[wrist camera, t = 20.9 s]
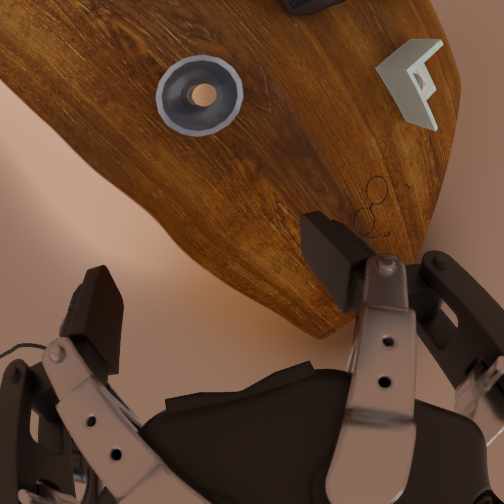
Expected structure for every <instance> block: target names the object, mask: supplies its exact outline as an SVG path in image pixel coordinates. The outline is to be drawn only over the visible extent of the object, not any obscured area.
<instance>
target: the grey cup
mask: <svg viewBox="0 0 504 504" xmlns="http://www.w3.org/2000/svg"><path fill="white" fill-rule="evenodd" d="M193 80H203V81H205V82H207V83H208V84H210V85H212V86H213V87H214V88H215V89H216V92H217V97H216V100H215V101H214V103H212V104H211V105H209V106H207V107H205V108H203V109H200V110H192V109H189V108H187V107H186V106H185V105H184V104H183V102H182V100H181V91H182V89H183V88H184V86H185V85H186V84H187V83H189V82H191V81H193ZM243 96H244V95H243V87H242V81H241V79H240V77H239V76H238V74H237V72H236V71H235V69H234V68H233V67H232V66H231V65H229V64H228V63H226V62H225V61H223V60H222V59H220V58H217V57H212V56H207V55H197V56H192V57H186V58H184V59H182V60H180V61H179V62H177V63H175V64H174V65H172V66H171V67H169V69H168V70H167V71H166V73H165V74H164V75H163V77H162V78H161V79H160V81H159V84H158V88H157V92H156V103H157V109H158V113H159V115H160V116H161V117H162V119H163V120H164V122H165V123H166V124H167V126H168V127H170V128H172V129H174V130H175V131H177V132H179V133H180V134H183V135H189V136H196V137H200V136H205V135H210V134H214V133H216V132H218V131H220V130H221V129H223V128H225V127H226V126H228V125H229V124H230V123H231V122H232V120H233V119H234V118H235V117H236V115H237V114H238V113H239V111H240V108H241V104H242V101H243Z"/></svg>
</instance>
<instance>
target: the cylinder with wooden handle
mask: <svg viewBox="0 0 504 504" xmlns="http://www.w3.org/2000/svg"><path fill="white" fill-rule="evenodd" d="M216 97H217V92H216V89H215V88H214V87H213V86H212V85H210V84H208V83H207V82H205V81H203V80H193V81H191V82H189V83H187V84H186V85H185V86H184V88H183V89H182V91H181V100H182V102H183V104H184V105H185V106H186V107H187V108H189V109H192V110H200V109H203V108H205V107H207V106H209V105H211V104H212V103H214V101H215V100H216Z"/></svg>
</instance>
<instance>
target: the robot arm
mask: <svg viewBox="0 0 504 504" xmlns="http://www.w3.org/2000/svg"><path fill="white" fill-rule="evenodd" d="M300 230H301V251H302V255H303V258H304V260H305V262H306V263H307V264H308V266H309V267H310V268H311V270H312V271H313V272H314V274H315V275H316V277H317V278H318V279H319V281H320V282H321V283H322V285H323V286H324V287H325V289H326V290H327V292H328V293H329V294H330V296H331V297H332V299H333V300H334V301H335V303H336V304H337V306H338V307H339V308H340V310H341V311H342V313H343V314H345V313H348V312H351V311H353V310H354V311H355V312H356V314H357V315H356V320H355V326H354V332H353V338H352V344H351V350H350V355H349V360H348V364H347V368H346V371H341V370H336V369H315V370H314V368H313V366H312V365H311V363H310V361H306V362H304V363H301V364H298V365H295V366H292V367H289V368H286V369H283V370H280V371H277V372H274V373H273V374H271V375H269V376H267V377H266V378H264V379H262V380H260V381H259V382H257V383H255V384H253V385H251V386H249V387H248V388H246V389H244V390H242V391H239V392H199V393H194V394H189V395H184V396H179V397H174V398H169V399H165V404H166V410H164V411H162V412H160V413H158V414H157V415H155V416H154V417H152V418H151V419H150V420H148V421H147V422H146V423H144V422H143V421H141V419H140V418H138V416H137V415H136V414H135V413H134V412H133V411H132V410H131V409H130V408H129V407H128V405H127V404H126V403H125V402H124V401H123V400H122V398H121V397H120V396H119V395H118V394H117V392H116V391H115V390H114V389H113V388H112V386H111V385H110V384H109V383H108V375H114V374H118V373H119V355H120V340H121V329H122V320H123V310H124V304H123V299H122V296H121V294H120V292H119V290H118V288H117V286H116V284H115V282H114V280H113V278H112V276H111V274H110V272H109V270H108V269H107V267H106V266H105V265H102V266H98V267H94V268H91V269H88V270H87V272H86V274H85V277H84V280H83V283H82V284H80V285H79V286H78V288H77V289H76V291H75V292H74V293H73V296H72V299H71V302H70V304H71V305H69V308H68V313H67V315H66V318H65V321H64V325H63V328H62V332H61V336H60V338H57V339H55V340H54V341H52V342H51V343H50V344H49V345H48V346H47V347H45V346H42V345H38V344H31V343H23V344H18V345H16V346H14V347H13V348H12V349H10V350H8V351H6V352H4V353H3V354H1V355H0V358H2V357H4V356H6V355H7V354H10V353H12V352H13V351H15V350H16V349H17V348H20V347H35V348H40V349H43V350H45V351H44V353H43V356H42V361H41V362H39V363H37V364H35V365H33V366H31V367H29V366H28V365H27V364H26V363H25V362H24V361H23V360H22V359H16V360H14V361H12V362H11V363H10V364H9V365H8V366H7V368H6V369H5V371H4V374H3V378H2V382H1V387H0V504H504V503H503V502H502V501H501V500H500V499H499V498H498V497H497V496H496V495H495V494H494V493H493V491H492V489H491V486H490V482H489V478H488V470H487V445H489V444H490V443H491V442H492V441H493V440H494V439H495V438H496V437H497V436H498V435H499V434H500V433H501V432H502V431H503V430H504V310H503V309H502V308H501V306H500V305H499V304H498V303H497V302H496V301H495V300H494V299H493V298H492V297H491V296H490V294H489V293H488V292H487V291H486V290H485V289H484V288H483V287H482V286H481V285H480V284H479V283H478V282H477V281H476V280H475V279H474V278H473V277H472V276H471V275H470V274H469V273H468V272H466V270H464V269H463V268H462V267H461V266H460V265H459V264H458V263H457V262H456V261H455V260H454V259H453V258H451V257H450V256H449V255H447V254H446V253H443V252H440V251H434V250H433V251H428V252H426V253H425V254H424V255H423V258H422V262H421V264H412V265H404V263H403V262H402V261H401V260H400V259H398V258H396V257H394V256H392V255H388V254H377V253H375V252H374V251H373V250H372V249H371V248H370V247H369V246H368V245H367V244H366V243H365V242H364V241H362V240H361V239H360V238H359V237H357V235H356V234H355V233H354V232H352V231H351V230H350V229H349V228H348V227H347V226H346V225H344V224H343V223H340V222H338V221H336V220H330V219H328V218H327V217H326V216H325V215H324V214H323V213H322V212H320V211H315V212H311V213H306V214H302V215H301V217H300ZM443 301H444V302H445V303H446V304H447V305H448V306H449V307H450V308H451V310H452V311H453V312H454V313H455V314H456V316H457V319H458V327H457V328H456V327H455V325H454V324H453V323H452V322H451V320H450V319H449V318H448V317H447V315H446V314H445V313H444V312H443V311H442V309H441V306H442V303H443ZM416 333H417V334H418V336H419V337H420V339H421V340H422V341H423V343H424V344H425V346H426V347H427V348H428V350H429V351H430V353H431V354H432V356H433V357H434V359H435V360H436V361H437V363H438V364H439V366H440V367H441V369H442V370H443V372H444V373H445V375H446V376H447V378H448V380H449V381H450V383H451V384H452V386H453V387H454V389H455V390H456V393H455V400H456V403H455V405H454V410H455V412H456V413H455V412H452V411H449V410H446V409H443V408H440V407H437V406H435V405H432V404H429V403H426V402H423V401H421V400H417V399H415V388H416V365H417V363H416V362H417V359H416V358H417V341H416ZM31 410H32V411H34V412H35V413H36V414H38V415H39V426H38V443H37V442H35V441H34V440H33V438H32V436H31V434H30V417H31ZM74 482H76V483H80V484H82V483H83V484H85V485H86V488H85V491H84V493H83V496H82V498H81V499H80V501H79V502H78V500H77V499H76V494H75V486H74ZM104 485H105V486H104Z"/></svg>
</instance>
